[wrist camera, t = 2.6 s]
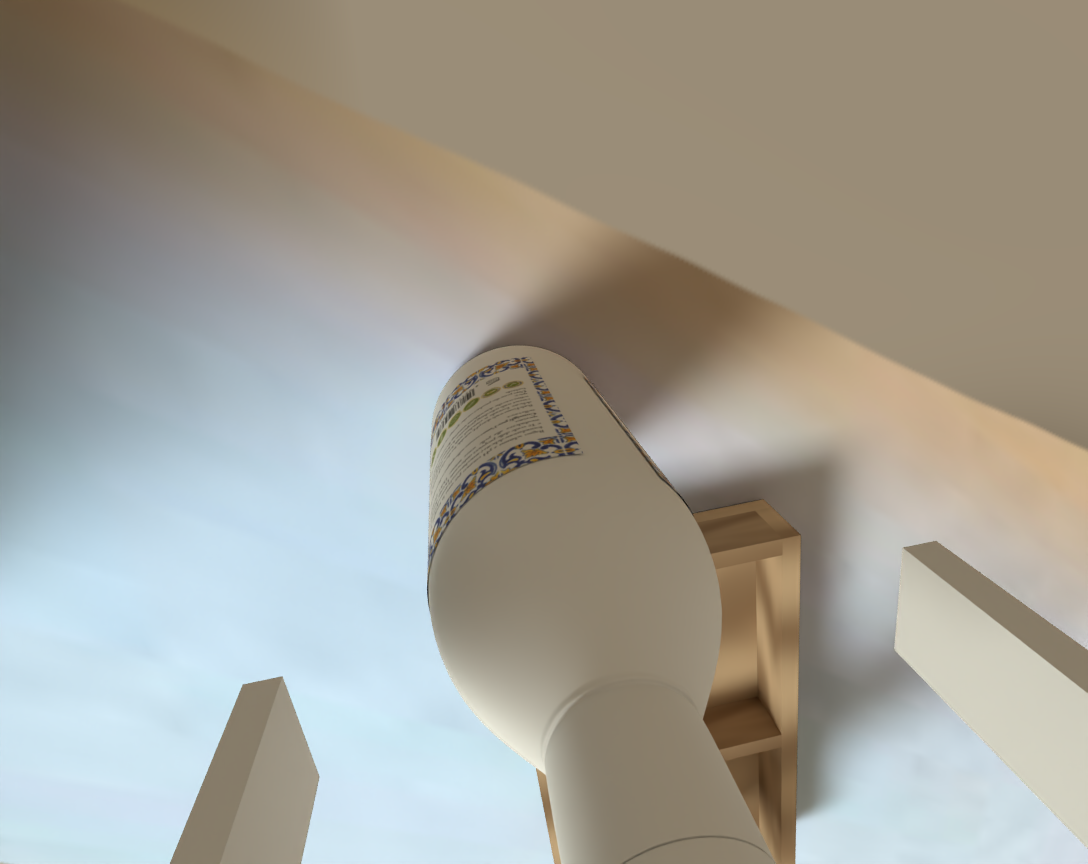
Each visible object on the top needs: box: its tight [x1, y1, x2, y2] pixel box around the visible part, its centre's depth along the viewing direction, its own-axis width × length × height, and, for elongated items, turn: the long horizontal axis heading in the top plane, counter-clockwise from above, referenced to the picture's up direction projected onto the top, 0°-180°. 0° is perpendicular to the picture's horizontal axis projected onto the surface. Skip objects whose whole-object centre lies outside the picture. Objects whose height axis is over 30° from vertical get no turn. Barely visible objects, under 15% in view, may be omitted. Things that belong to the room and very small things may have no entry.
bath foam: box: [427, 345, 776, 864], centre depth 17 cm, size 7×7×20 cm
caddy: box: [536, 499, 801, 864], centre depth 32 cm, size 23×13×3 cm, turn 8°
